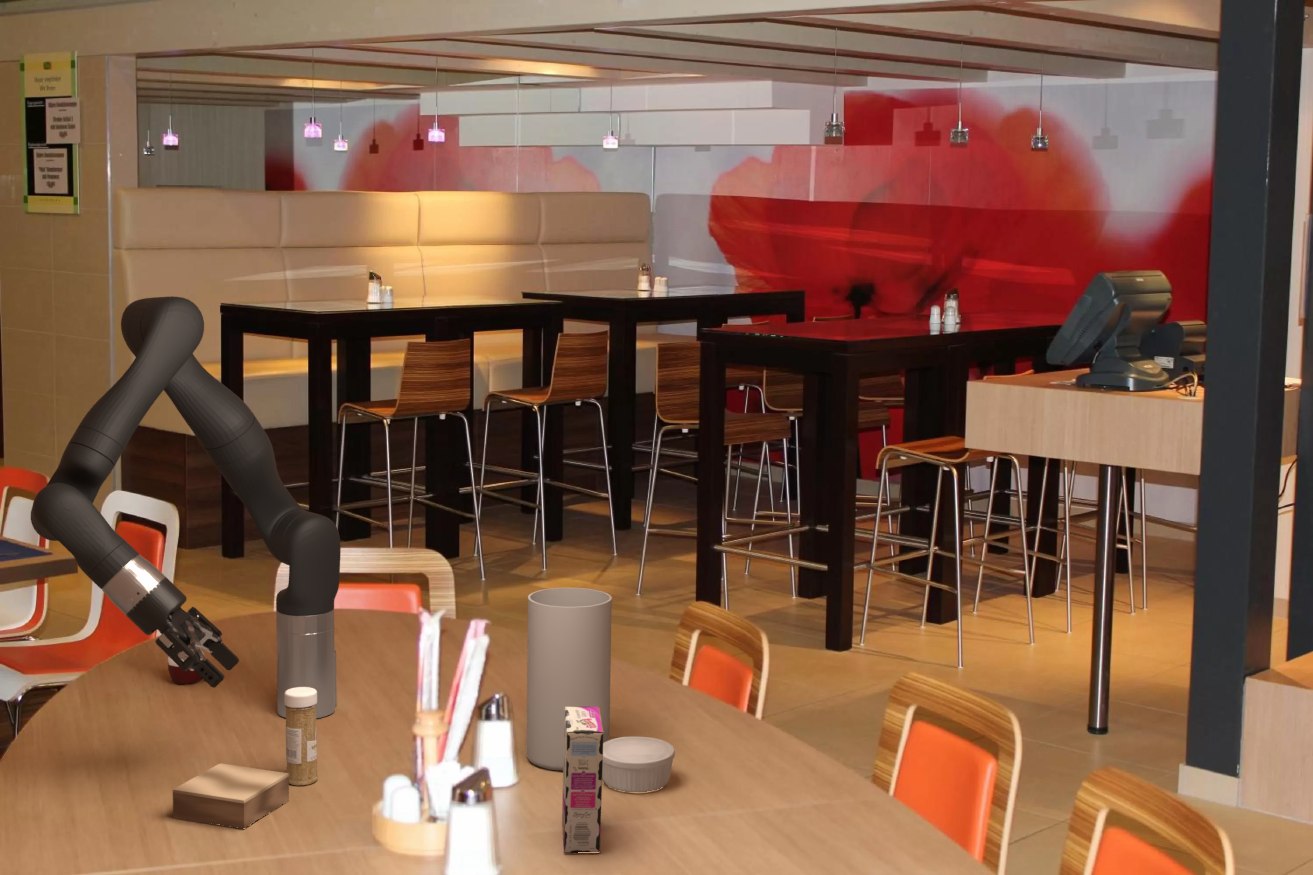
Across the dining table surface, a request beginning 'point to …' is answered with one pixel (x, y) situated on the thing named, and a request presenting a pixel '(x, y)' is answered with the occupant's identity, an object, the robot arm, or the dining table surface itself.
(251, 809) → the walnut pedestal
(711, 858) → the dining table surface
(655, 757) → the ramekin
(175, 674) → the cocoa
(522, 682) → the dining table surface
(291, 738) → the spice jar
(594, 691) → the cylinder vase
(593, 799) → the candy bar box
